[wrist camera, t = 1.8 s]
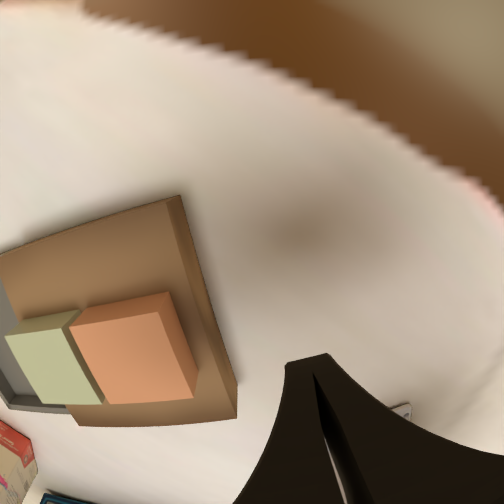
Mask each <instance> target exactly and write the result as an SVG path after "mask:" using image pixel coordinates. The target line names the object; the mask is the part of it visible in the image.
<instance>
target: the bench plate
mask: <svg viewBox="0 0 504 504" xmlns="http://www.w3.org/2000/svg"><path fill="white" fill-rule="evenodd" d="M0 278H1V280H2V283H3V286H4V288H5V291H6V293H7V296H8V298H9V301H10V303H11V306H12V308H13V310H14V313H15V315H16V317H17V319H18V322H19V323H20V322H21V321H22V320H24V319H30V318H35V317H41V316H46V315H51V314H57V313H62V312H68V311H73V310H78V309H79V310H80V312H81V314H82V312H83V311H84V310H85V309H86V308H88V307H94V306H99V305H104V304H109V303H114V302H119V301H124V300H129V299H134V298H139V297H144V296H149V295H154V294H159V293H163V292H168V291H169V293H170V296H171V299H172V302H173V305H174V308H175V310H176V313H177V316H178V319H179V322H180V324H181V327H182V330H183V332H184V335H185V338H186V340H187V343H188V346H189V348H190V351H191V354H192V356H193V359H194V361H195V364H196V366H197V369H198V371H199V373H198V378H197V384H196V389H195V394H194V398H189V399H180V400H170V401H159V402H145V403H128V404H110V403H109V402H108V400H107V398H105V400H104V402H103V404H94V405H77V404H64V405H65V406H66V408H67V409H68V411H69V412H70V414H71V415H72V416H73V418H74V419H75V421H76V422H77V423H78V425H79V426H90V427H149V426H169V425H183V424H194V423H204V422H213V421H221V420H229V419H236V418H237V387H238V385H237V382H236V380H235V377H234V374H233V371H232V368H231V365H230V362H229V359H228V356H227V353H226V350H225V347H224V344H223V341H222V338H221V334H220V331H219V328H218V325H217V322H216V319H215V316H214V312H213V309H212V306H211V303H210V299H209V296H208V293H207V289H206V286H205V283H204V279H203V276H202V273H201V269H200V266H199V262H198V259H197V255H196V252H195V248H194V245H193V241H192V237H191V234H190V230H189V226H188V223H187V219H186V215H185V212H184V208H183V204H182V200H181V196H180V195H178V196H174V197H171V198H167V199H163V200H160V201H156V202H153V203H149V204H146V205H142V206H139V207H136V208H132V209H129V210H126V211H122V212H119V213H116V214H113V215H109V216H106V217H103V218H100V219H97V220H94V221H91V222H88V223H85V224H82V225H79V226H76V227H73V228H70V229H67V230H64V231H61V232H58V233H55V234H53V235H50V236H47V237H44V238H42V239H39V240H36V241H33V242H31V243H28V244H25V245H23V246H21V247H19V248H17V249H14V250H12V251H10V252H8V253H6V254H4V255H2V256H0Z"/></svg>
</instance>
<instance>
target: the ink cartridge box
mask: <svg viewBox="0 0 504 504" xmlns="http://www.w3.org/2000/svg"><path fill="white" fill-rule="evenodd" d="M37 472H38V470H37V466H36V463H35V459H34V454H33V450H32V446H31V442H30V440H29V439H27V438H26V437H24V436H23V435H21V434H19V433H18V432H16V431H15V430H13V429H12V428H10V427H9V426H7V425H6V424H5V423H3V422H2V421H0V504H22V502H23V500H24V498H25V496H26V494H27V492H28V490H29V488H30V486H31V484H32V482H33V480H34V478H35V476H36V474H37Z"/></svg>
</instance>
